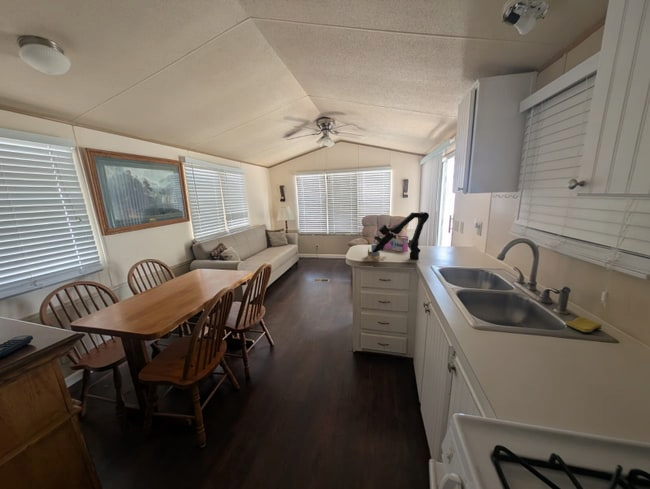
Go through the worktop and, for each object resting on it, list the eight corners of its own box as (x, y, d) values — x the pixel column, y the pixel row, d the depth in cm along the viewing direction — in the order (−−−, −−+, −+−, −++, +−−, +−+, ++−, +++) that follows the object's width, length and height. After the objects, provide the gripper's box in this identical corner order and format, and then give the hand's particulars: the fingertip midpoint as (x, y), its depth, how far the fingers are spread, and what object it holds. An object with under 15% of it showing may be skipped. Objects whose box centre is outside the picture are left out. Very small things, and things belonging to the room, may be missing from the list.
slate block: (378, 257, 208) (378, 243, 205) (377, 259, 202) (378, 245, 200) (371, 257, 209) (371, 243, 206) (371, 259, 204) (371, 245, 201)
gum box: (382, 248, 244) (382, 234, 241) (386, 246, 249) (387, 233, 246) (403, 252, 227) (404, 237, 224) (408, 250, 232) (408, 236, 229)
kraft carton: (386, 257, 211) (386, 248, 209) (387, 261, 196) (387, 252, 195) (368, 256, 214) (368, 247, 212) (367, 261, 200) (367, 251, 198)
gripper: (380, 230, 209) (367, 242, 214) (380, 233, 191) (365, 247, 196) (389, 239, 209) (376, 251, 213) (390, 243, 191) (375, 256, 196)
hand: (373, 251), depth 205 cm, fingers closed on slate block, 5 cm apart
